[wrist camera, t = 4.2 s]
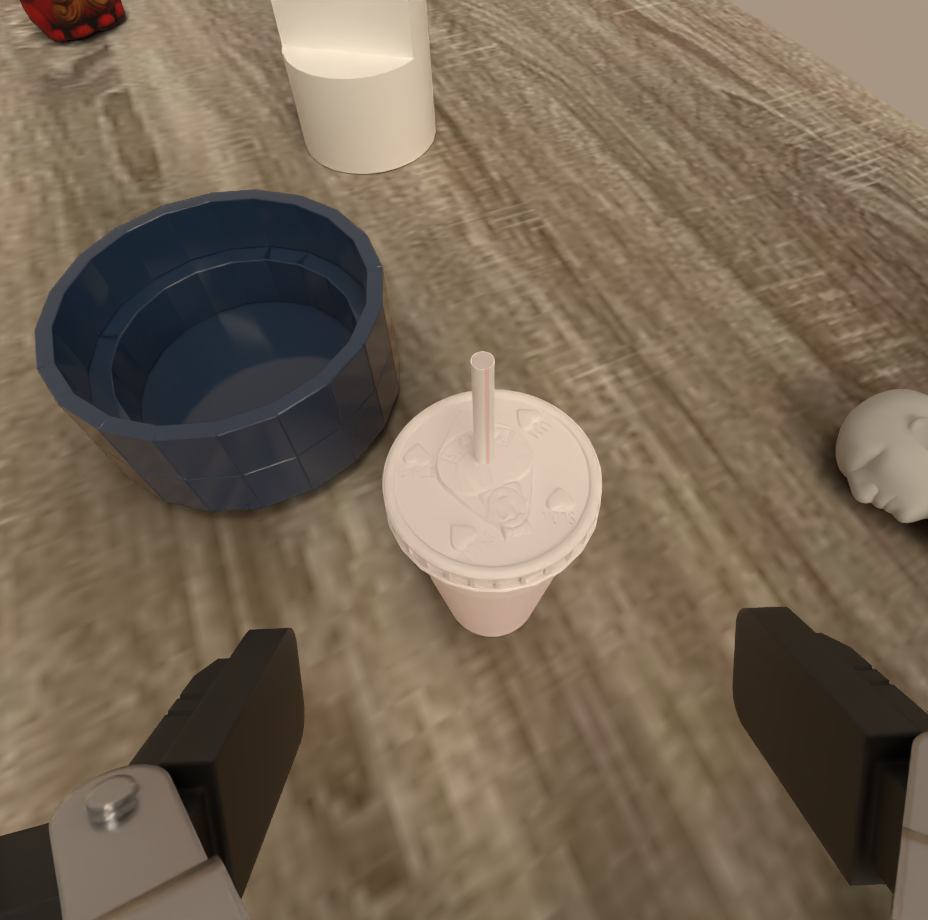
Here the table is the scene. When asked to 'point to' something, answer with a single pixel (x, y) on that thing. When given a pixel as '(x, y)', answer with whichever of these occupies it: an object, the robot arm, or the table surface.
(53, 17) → the red clay folk toy
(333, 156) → the base with upright slab
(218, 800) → the robot arm
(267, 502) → the bowl
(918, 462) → the white head bust
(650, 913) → the table surface
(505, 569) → the smoothie
